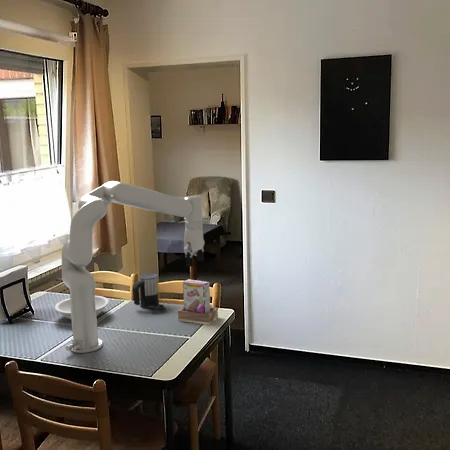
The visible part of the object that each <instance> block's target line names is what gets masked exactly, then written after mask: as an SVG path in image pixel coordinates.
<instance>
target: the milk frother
mask: <svg viewBox="0 0 450 450" xmlns="http://www.w3.org/2000/svg"><path fill="white" fill-rule="evenodd" d="M158 276H159V275H158V274H157V273H156V274H155V273H144V274H140V275H139V276H138V278H139V280H138V281H136V282H134V284H133V285H132V298H133V303H134V305H135V306H140V308H143V309H156V310H158V311H160V312H162V311H164V310H166V307H165V306H164V305H163V304H160V301H159V287H158Z"/></svg>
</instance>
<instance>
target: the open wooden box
mask: <svg viewBox="0 0 450 450" xmlns="http://www.w3.org/2000/svg"><path fill="white" fill-rule="evenodd" d="M218 309H219V308H218V307H213V306H212V307H211V306H210V313H208V314H203V313H195V312H188V311H184V306H183V307H181V308H180V309H178V310H177V321H179V322H180V321H181V322H186V323H192V322H193V323H194V324H201V325H207V326H208V325H211V324H212V323H214V321H216V320H217V319H218V318H219V312H218V311H219V310H218Z"/></svg>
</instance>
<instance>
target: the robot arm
mask: <svg viewBox="0 0 450 450" xmlns="http://www.w3.org/2000/svg"><path fill="white" fill-rule="evenodd" d="M202 200H203V199H202V197H201V196H199V195H190V196H189V195H188V196H174V195H170V194H166V193H163V192H160V191H156V190H155V189H154V190H153V189H150V188H146V187H142V186H138V185H134V184H129V183H124V182H121V181H116V180H110V181H108V182H105V183H103V184H102V185H101V186H98V187H97V188H95V189H94V190H91V191H90V192H88V193H86V194H85V195H83V196H82V197H81V198H80V199H79V201H78V204H77V207H78V211H76V213H75V214H74V215H73V217H72V219H71V221H70V226H69V239H68V240H66V241H65V243H64V244H63V246H62V248H61V279H62V282H63V284H64V285H65V286H66V287H67V288H68V289H69V293H70V295H69V298H70V310H71V319H70V320H71V328H72V329H71V331H72V339H71V343H69V344H67V345H66V346H65V350H66V351H68V352H69V351H71V352H72V353H77V354H84V353H85V354H86V353H90V352H91V353H93V352H94V351H97V350H100V349H101V348H102V347H103V345H104V342H103V340H102V339H100V338H99V332H98V331H99V330H98V321H97V316H96V306H95V296H96V280H95V278H94V275H93V274H92V273H91V271H88V269H86V266H88V265H90V263H91V261H92V259H93V256H94V255H93V252H94V250H93V249H94V248H93V242H94V240H93V237H94V234H93V233H94V228H95V225H96V224H97V223H98V222H99V221H100V220H101V219H102V218H104V217H105V216H106V214H107V213H108V207H109V206H110V205H111V204H113V203H115V204H118V205H122V206H127V207H132V208H137V209H140V210H145V211H149V212H158V213H163V214H168V215H171V216H176V217H179V218H180V217H181V218H184V228H185V229H184V236H183V237H184V238H183V254H184V257H185V266H186V267H194V257H193V255H194V253H196V261H197V262H204V261H205V258H204V257H205V256H204V252H205V249H204V248H205V244H206V243H205V239H204V231H203V228H204V226H203V224H204V223H203V201H202Z"/></svg>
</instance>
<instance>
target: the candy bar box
mask: <svg viewBox="0 0 450 450" xmlns="http://www.w3.org/2000/svg"><path fill="white" fill-rule="evenodd" d="M182 290H183V292H182V293H183V295H182V296H183V307H184V311H188V312H195V313H203V314H208V313H210V307H211V293H210V282H209V281H203V280H195V279H189V278H188V279H186V280H184V281H182Z"/></svg>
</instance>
